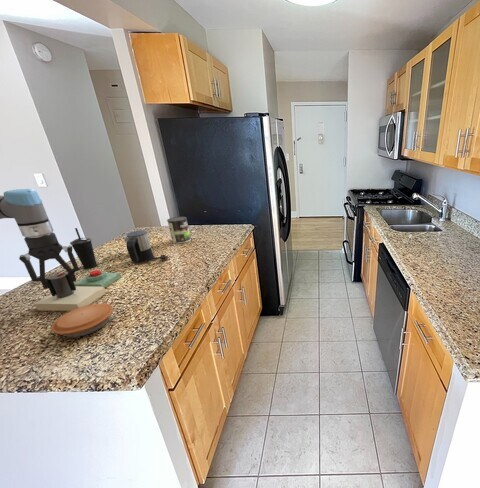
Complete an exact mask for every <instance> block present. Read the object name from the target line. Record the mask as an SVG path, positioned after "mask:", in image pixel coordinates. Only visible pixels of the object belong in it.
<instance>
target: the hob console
mask: <svg viewBox="0 0 480 488" xmlns="http://www.w3.org/2000/svg"><path fill="white" fill-rule="evenodd" d="M75 287H76V290H75V291H74V293H73V294H72V295H70V296H67V297H64V298H57V297H56V295H55V296H52V294H51V293H50V294H49V295H47V296H45V297H43V298H41V299H39V300H37V301H36V302H34V303H33V304H34V306H35V309H36V311H53V312H54V311H55V312H60V311H61V312H70V311H72V310H74V309H77V308H79V307H83V306H86V305H91V304H93V303H94V302H95V301H97V300H99V299H100V298H101V297H103V296H104V295H106V294H107V290H106V287H105V288H104V287H87V286H75Z"/></svg>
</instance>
